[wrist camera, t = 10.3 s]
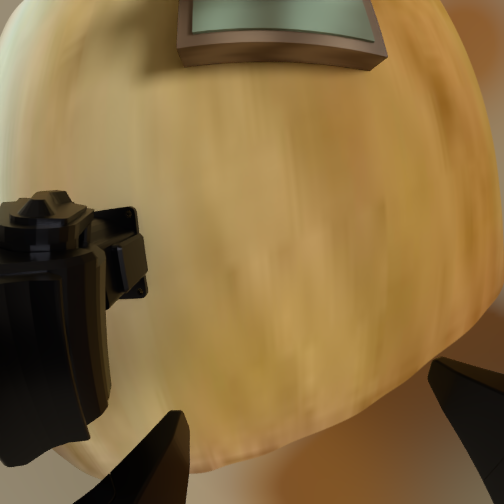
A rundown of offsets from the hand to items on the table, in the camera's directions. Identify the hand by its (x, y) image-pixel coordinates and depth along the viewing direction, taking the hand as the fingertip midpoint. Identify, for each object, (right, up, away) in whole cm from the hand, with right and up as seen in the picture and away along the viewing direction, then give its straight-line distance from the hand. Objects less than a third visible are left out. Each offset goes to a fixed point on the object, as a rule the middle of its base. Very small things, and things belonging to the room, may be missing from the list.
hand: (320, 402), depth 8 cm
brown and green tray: (0, +25, +7) cm, 26 cm away
